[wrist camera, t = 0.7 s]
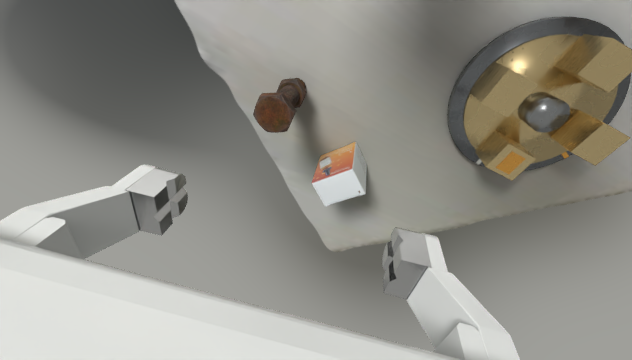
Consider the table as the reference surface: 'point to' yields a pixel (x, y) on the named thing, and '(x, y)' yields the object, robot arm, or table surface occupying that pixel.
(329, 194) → the small box
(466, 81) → the base plate
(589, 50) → the four-lug gold disc
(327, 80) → the table surface
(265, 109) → the bolt
